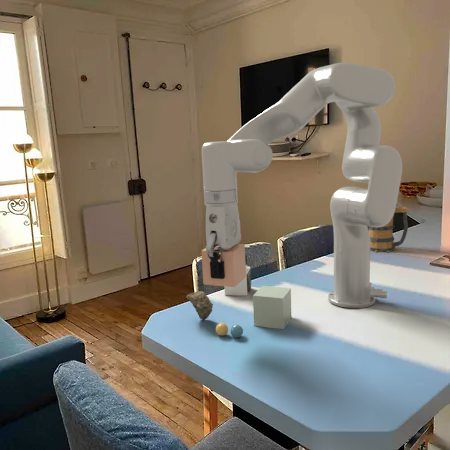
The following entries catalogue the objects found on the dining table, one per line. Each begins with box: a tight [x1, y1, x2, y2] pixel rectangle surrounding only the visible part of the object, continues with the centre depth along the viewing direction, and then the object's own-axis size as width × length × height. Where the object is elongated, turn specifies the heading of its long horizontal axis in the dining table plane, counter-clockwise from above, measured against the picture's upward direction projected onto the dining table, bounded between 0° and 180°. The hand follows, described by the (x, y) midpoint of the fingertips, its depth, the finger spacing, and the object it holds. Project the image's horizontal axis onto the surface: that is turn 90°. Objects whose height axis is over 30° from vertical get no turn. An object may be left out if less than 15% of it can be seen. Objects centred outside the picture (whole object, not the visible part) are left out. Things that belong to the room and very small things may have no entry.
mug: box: [367, 202, 411, 253], centre depth 172 cm, size 13×17×20 cm
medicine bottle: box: [223, 253, 252, 297], centre depth 135 cm, size 7×7×12 cm
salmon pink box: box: [201, 243, 246, 287], centre depth 102 cm, size 8×8×8 cm
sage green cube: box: [252, 285, 292, 330], centre depth 112 cm, size 8×8×8 cm
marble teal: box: [229, 324, 244, 339], centre depth 105 cm, size 3×3×3 cm
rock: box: [186, 290, 214, 321], centre depth 114 cm, size 7×8×4 cm
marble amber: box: [215, 322, 229, 337], centre depth 106 cm, size 3×3×3 cm
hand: (224, 272), depth 103 cm, fingers closed on salmon pink box, 7 cm apart
